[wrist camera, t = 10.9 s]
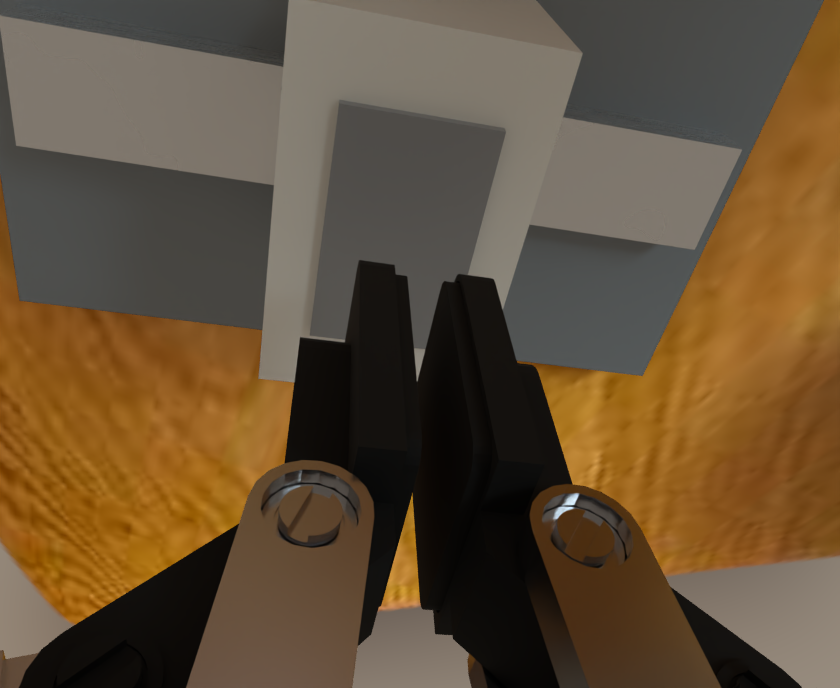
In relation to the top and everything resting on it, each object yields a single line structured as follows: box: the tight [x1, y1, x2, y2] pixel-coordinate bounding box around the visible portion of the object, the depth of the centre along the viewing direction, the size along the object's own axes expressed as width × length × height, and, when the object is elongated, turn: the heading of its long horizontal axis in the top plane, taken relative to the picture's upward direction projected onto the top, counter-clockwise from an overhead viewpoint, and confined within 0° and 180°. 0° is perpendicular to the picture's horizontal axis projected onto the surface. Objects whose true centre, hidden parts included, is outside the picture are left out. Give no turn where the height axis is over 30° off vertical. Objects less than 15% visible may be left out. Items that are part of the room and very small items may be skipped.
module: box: [259, 0, 583, 382], centre depth 17 cm, size 5×8×6 cm, turn 169°
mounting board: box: [0, 0, 824, 376], centre depth 20 cm, size 20×14×2 cm
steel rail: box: [0, 3, 742, 250], centre depth 19 cm, size 18×3×1 cm, turn 79°
